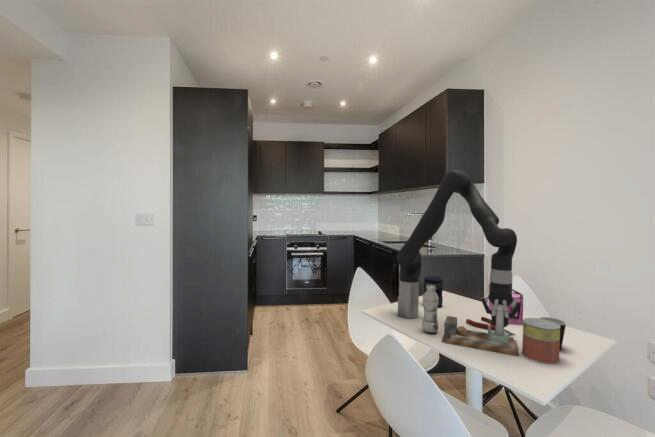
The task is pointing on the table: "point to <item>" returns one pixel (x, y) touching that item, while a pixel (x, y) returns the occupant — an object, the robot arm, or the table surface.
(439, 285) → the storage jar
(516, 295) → the gum box
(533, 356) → the canned food
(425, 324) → the plastic bottle
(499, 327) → the grey post on base
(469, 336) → the base
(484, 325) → the pliers
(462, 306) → the table surface
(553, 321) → the coffee mug
